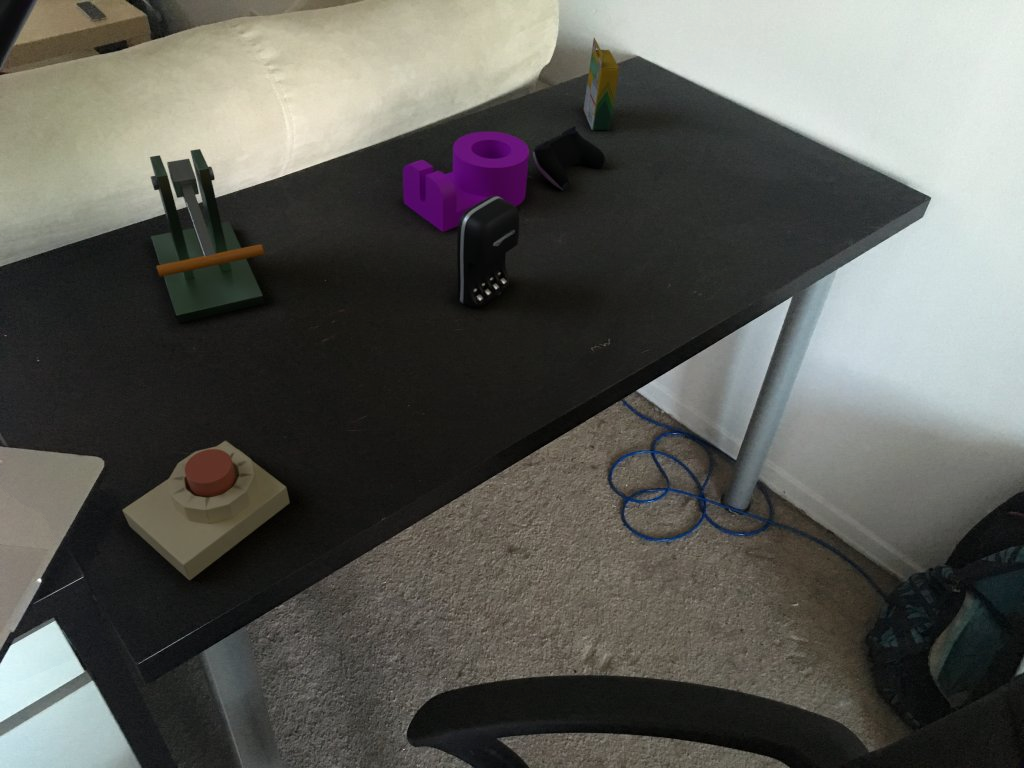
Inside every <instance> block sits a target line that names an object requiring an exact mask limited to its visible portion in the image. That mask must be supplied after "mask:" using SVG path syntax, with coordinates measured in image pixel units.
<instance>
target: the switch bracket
mask: <svg viewBox="0 0 1024 768" xmlns="http://www.w3.org/2000/svg"><path fill="white" fill-rule="evenodd" d="M189 151H190V152H189V153H190V156H191V160H192V164H193V168H194V174H195V177H196V181H197V186H198V191H199V195H200V197H201V202H202V206H203V210H204V215H205V219H206V223H207V225H206V227H207V230H208V233H209V235H210V238H211V241H212V244H213V247H214V250H215V253H221V252H226V251H231V250H235V249H240V248H242V246H241V244H240V242H239V240H238V238H237V235H236V233H235V231H234V229H233V227H232V225H231V222H230V221H227V220H226V221H222V220H221V215H220V212H219V207H218V203H217V197H216V194H215V190H214V185H213V181H215V173H214V170H213V167H212V166H208V165H209V164H208V163H207V160H206V159H205V156H204V153H202V151H201V148H198V149H191V150H189ZM149 159H150V163H151V167H152V171H153V174H154V175H151V176H150V180H151V184H152V187H153V190H154V191H158V192H159V196H160V199H161V203H162V207H163V210H164V213H165V219H166V222H167V224H168V228H169V232H166V233H161V234H156V235H151V236H150V239H151V242H152V245H153V249H154V252H155V255H156V258H157V260H158V264H159V265H163V264H168V263H173V262H177V261H182V260H187V259H192V258H197V257H202V256H203V253H202V250H201V247H200V244H199V241H198V238H197V235H196V232H195V230H194V227H192V228H187V229H182V224H181V220H180V217H179V214H178V209H177V206H176V201H175V198H174V195H173V190H172V187H171V181H170V178H169V175H168V172H167V170H166V167H165V164H164V162H163V159H162V157H161V155H153V156H149ZM163 278H164V282H165V286H166V288H167V291H168V295H169V298H170V301H171V304H172V307H173V309H174V313H175V316H176V320H177V323H178V324H179V325H181V324H185V323H189V322H193V321H197V320H202V319H205V318H206V319H207V318H210V317H215V316H218V315H219V316H220V315H224V314H227V313H231V312H236V311H240V310H244V309H248V308H253V307H257V306H261V305H264V304H265V300H264V295H263V292H262V291H261V288H260V286H259V283H258V281H257V279H256V277H255V275H254V272H253V271H252V268H251V266H250V264H249V261H248V259H242V260H237V261H233V262H228V263H223V264H218V265H214V266H209V267H204V268H200V269H195V270H190V271H185V272H181V273H176V274H171V275H167V276H163Z"/></svg>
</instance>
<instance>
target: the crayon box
mask: <svg viewBox="0 0 1024 768" xmlns="http://www.w3.org/2000/svg"><path fill="white" fill-rule="evenodd" d="M619 74H620V67H619V65H618V63H617V61H616V60H615V58H614V55H613V54H612V52H611V50H609V49H601V47H600V45H599V43H598V41H597V40H596V38H595V37H593V40H592V48H591V55H590V63H589V70H588V77H587V83H586V90H585V96H584V104H583V112H584V115H585V118H586V120H587V123H588V125H589V128H590V129H591V131H610V128H611V122H612V117H613V109H614V104H615V99H616V98H615V96H616V92H617V86H618V80H619Z"/></svg>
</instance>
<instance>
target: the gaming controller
mask: <svg viewBox="0 0 1024 768" xmlns="http://www.w3.org/2000/svg"><path fill="white" fill-rule="evenodd" d="M532 157H533V160H534V164H535V167H537V169H538V171H539V172H540V173H541V175H542V176H543V177H544V178H545V179H547V181H549V182H550V183H551V184H552V185H553V186H555V187H556V188H558V189H559V190H561V191H565V190H567V189H568V188H569V187H570V180H569V177H568V174H567V172H566V169H567V168H569V167H571V166H573V165H575V164H576V163H577V162H580V163H583V164H585V165H587V166H590V167H592V168H595V169H601V168H602V167H603V166H604V165H605V163H606V157H605V154H604V153H603V151H602V150H601V149H600V148H599V147H598V146H596V145H595V144H593V143H591V142H590V141H588V140H587V139H585V138H584V137H583V136H582V135H581V134H580V133H579V132H578V130H577V129H576V125H574V126H572V127H570V128H567V129H566V130H564V131H562V133H561V134H560V135H557V136H555V137H553V138H551V139H549V140H546V141H544V142H542V143H540V144H538V145H537V146H535V147H534V149H533V152H532Z"/></svg>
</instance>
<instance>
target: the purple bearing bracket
mask: <svg viewBox="0 0 1024 768" xmlns="http://www.w3.org/2000/svg"><path fill="white" fill-rule="evenodd" d="M529 157H530V149H529V147H528V145H527V143H526V142H524V141H523V140H522V139H520V138H518V137H516V136H514V135H511V134H509V133H504V132H500V131H499V132H498V131H475V132H470V133H467V134H464V135H462V136H460V137H459V138H457V139H456V140H455V142H454V143H453V145H452V171H450V172H448V173H444V172H442V171H441V170H436V171H434V166H433V165H432V164H430V163H429V162H427V161H426V160H424V159H420V160H417V161H414V162H411V163H409V164H408V163H407V164H405V165H404V167H403V168H402V169H403V170H402V182H403V183H402V185H403V186H402V187H403V188H402V189H403V204H404V205H406V207H408V208H410V209H411V210H412V211H413V212H414V213H416V214H417V215H419V216H420V217H422V218H423V219H424V220H425V221H427V222H429V223H430V224H431V225H432V226H434V227H435V228H436V229H438V230H440V231H441V232H442V233H445V232H446V231H449V230H451V229H455V228H458V225H459V221H460V218H461V216H462V215H463V213H464V212H465V211H467V210H468V209H469V208H471V207H473V206H474V205H476V204H477V203H479V202H481V201H483V200H484V199H486V198H488V197H491V196H498V197H500V198H502V199H503V200H505V201H507V202H509V203H511V204H513V205H514V206H515V207H516V208H517V207H518V206H519V205H521V204H522V203H523V202H524V200H525V198H526V194H527V180H528V170H529V169H528V168H529Z"/></svg>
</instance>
